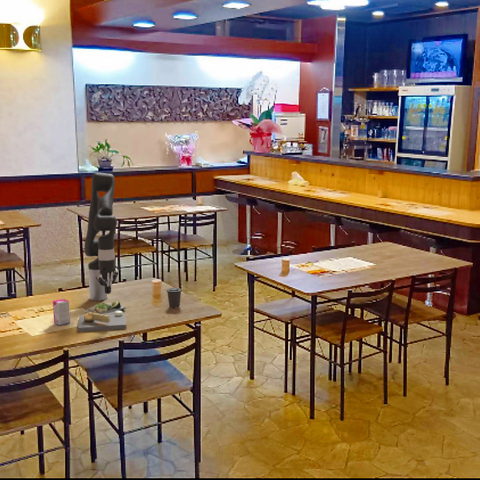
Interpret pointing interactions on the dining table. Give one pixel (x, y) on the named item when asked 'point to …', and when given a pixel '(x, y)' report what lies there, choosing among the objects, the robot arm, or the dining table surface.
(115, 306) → the salad plate
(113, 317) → the base
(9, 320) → the dining table surface
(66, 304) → the supplement box
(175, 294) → the coffee cup
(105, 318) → the tan elongated block
